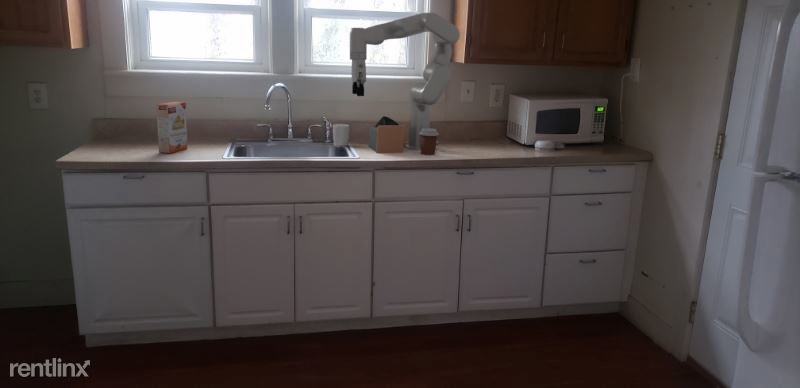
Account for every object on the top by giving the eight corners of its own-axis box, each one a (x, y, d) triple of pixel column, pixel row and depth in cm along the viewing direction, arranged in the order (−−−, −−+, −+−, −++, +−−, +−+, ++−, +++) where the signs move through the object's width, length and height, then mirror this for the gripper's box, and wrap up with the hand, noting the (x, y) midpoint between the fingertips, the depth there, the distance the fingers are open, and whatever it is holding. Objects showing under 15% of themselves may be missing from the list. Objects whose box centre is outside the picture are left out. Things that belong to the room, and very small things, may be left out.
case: (392, 147, 292) (393, 127, 290) (401, 153, 279) (402, 131, 277) (368, 148, 289) (369, 127, 286) (376, 153, 276) (377, 131, 273)
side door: (402, 151, 279) (404, 125, 274) (402, 152, 278) (405, 126, 273) (375, 152, 275) (377, 125, 271) (376, 152, 274) (378, 126, 270)
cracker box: (171, 154, 256) (168, 104, 251) (158, 153, 257) (155, 104, 252) (188, 148, 269) (186, 101, 264) (176, 147, 270) (173, 101, 265)
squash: (408, 132, 306) (390, 109, 303) (405, 138, 291) (386, 114, 289) (387, 149, 309) (368, 127, 307) (383, 156, 295) (364, 132, 293)
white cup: (329, 145, 291) (329, 125, 288) (338, 143, 298) (338, 123, 295) (343, 147, 287) (343, 126, 285) (351, 145, 294) (352, 125, 292)
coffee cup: (429, 157, 271) (430, 131, 268) (413, 154, 277) (415, 128, 274) (441, 155, 278) (443, 129, 275) (426, 152, 283) (427, 127, 280)
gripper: (370, 57, 261) (370, 96, 265) (362, 55, 277) (362, 93, 281) (353, 57, 259) (354, 97, 263) (346, 55, 275) (346, 93, 279)
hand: (358, 95), depth 272 cm, fingers open, 9 cm apart
